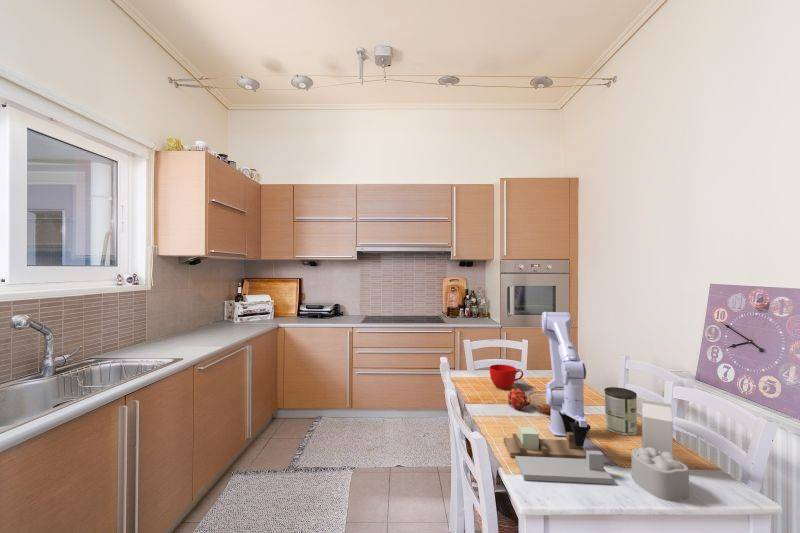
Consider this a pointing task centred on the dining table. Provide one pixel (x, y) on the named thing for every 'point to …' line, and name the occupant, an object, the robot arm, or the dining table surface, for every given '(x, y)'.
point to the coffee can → (620, 410)
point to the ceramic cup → (503, 375)
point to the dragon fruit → (517, 399)
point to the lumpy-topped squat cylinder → (660, 474)
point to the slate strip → (565, 469)
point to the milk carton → (657, 426)
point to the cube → (529, 438)
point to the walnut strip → (547, 448)
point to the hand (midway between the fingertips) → (574, 439)
